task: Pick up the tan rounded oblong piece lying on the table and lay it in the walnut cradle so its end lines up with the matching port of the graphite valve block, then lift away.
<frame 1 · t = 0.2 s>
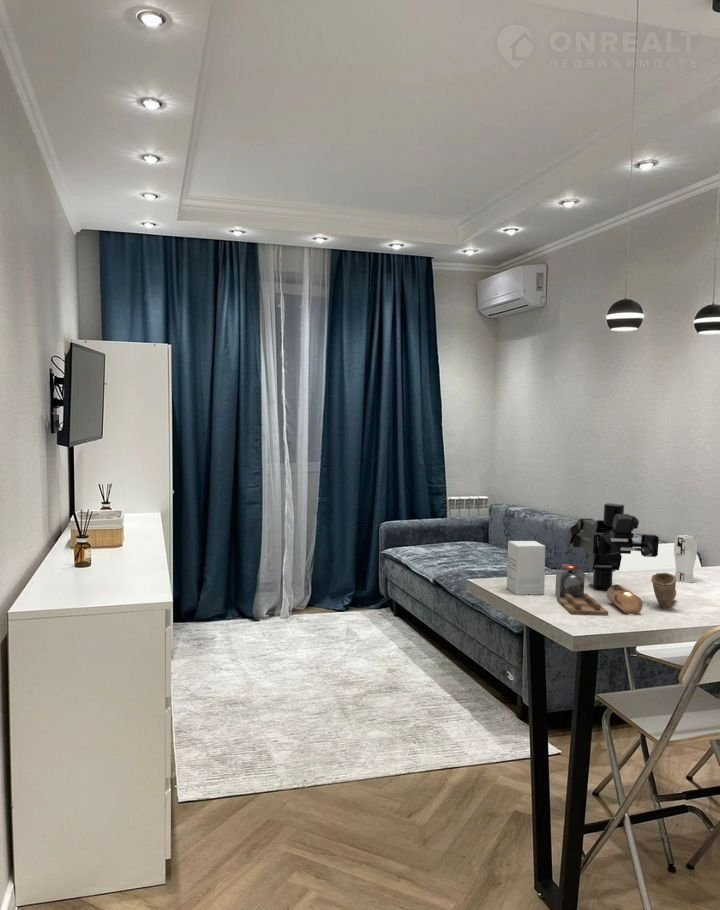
hand: (635, 551, 193), 17 cm above the table, tool horizontal, fingers open, 9 cm apart
supplement box: (524, 592, 213), on the table
beer glass: (683, 581, 233), on the table
pipe cradle: (581, 607, 195), on the table
tan rounded oblong piece: (623, 609, 195), on the table
valve block: (569, 596, 207), on the table
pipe: (666, 606, 200), on the table
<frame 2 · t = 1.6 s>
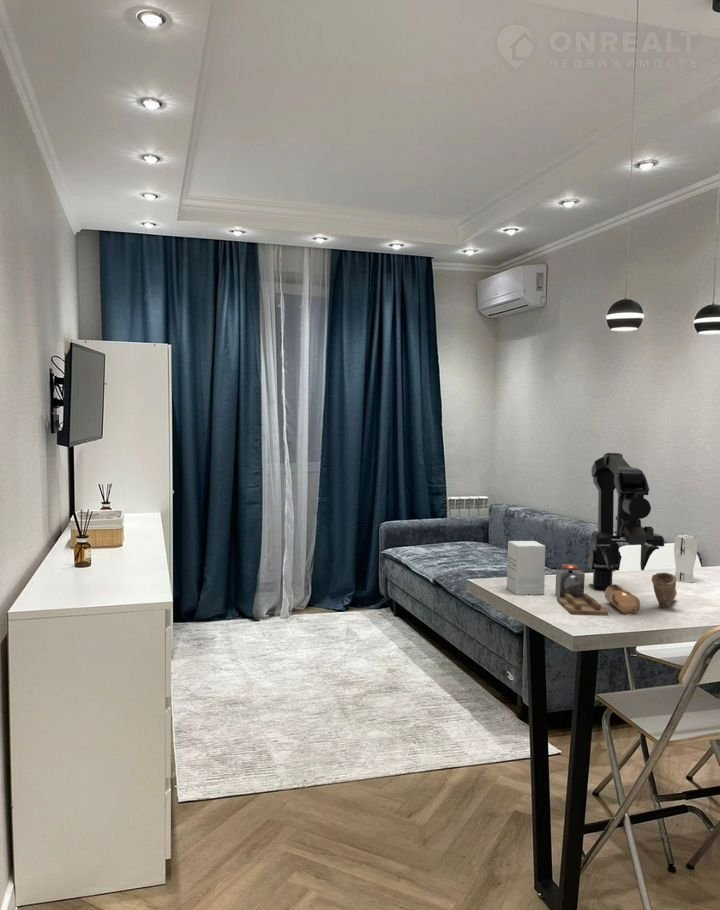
hand: (625, 569, 195), 11 cm above the table, tool pointing down, fingers open, 9 cm apart
tan rounded oblong piece: (623, 608, 195), on the table, tilted 14°
everything else where it was.
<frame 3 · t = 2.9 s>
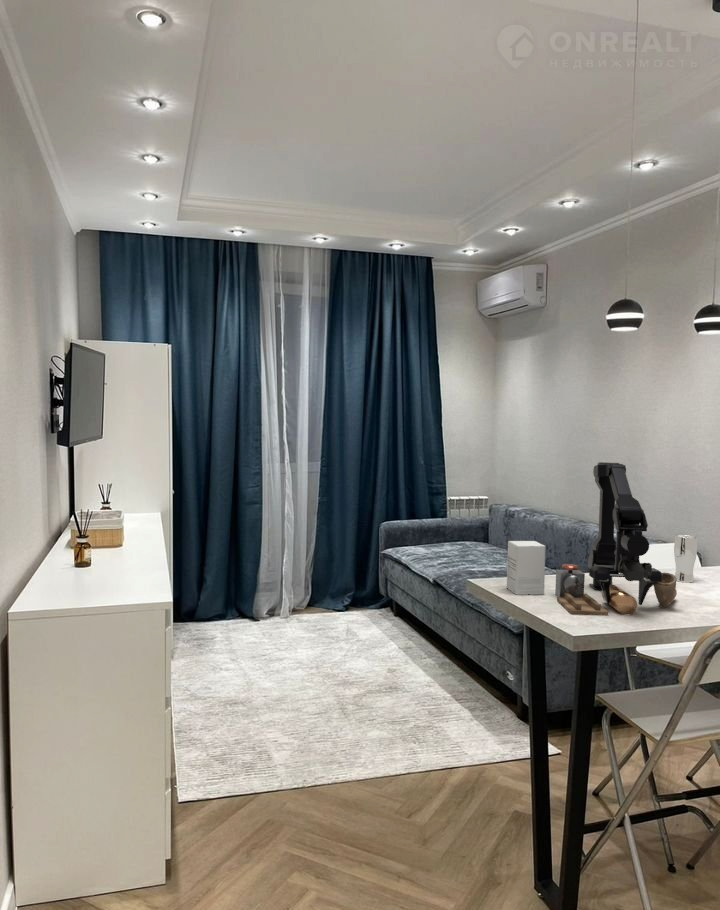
hand: (624, 604, 195), 1 cm above the table, tool pointing down, fingers open, 9 cm apart
tan rounded oblong piece: (623, 607, 195), on the table, tilted 32°, touching gripper
everything else where it was.
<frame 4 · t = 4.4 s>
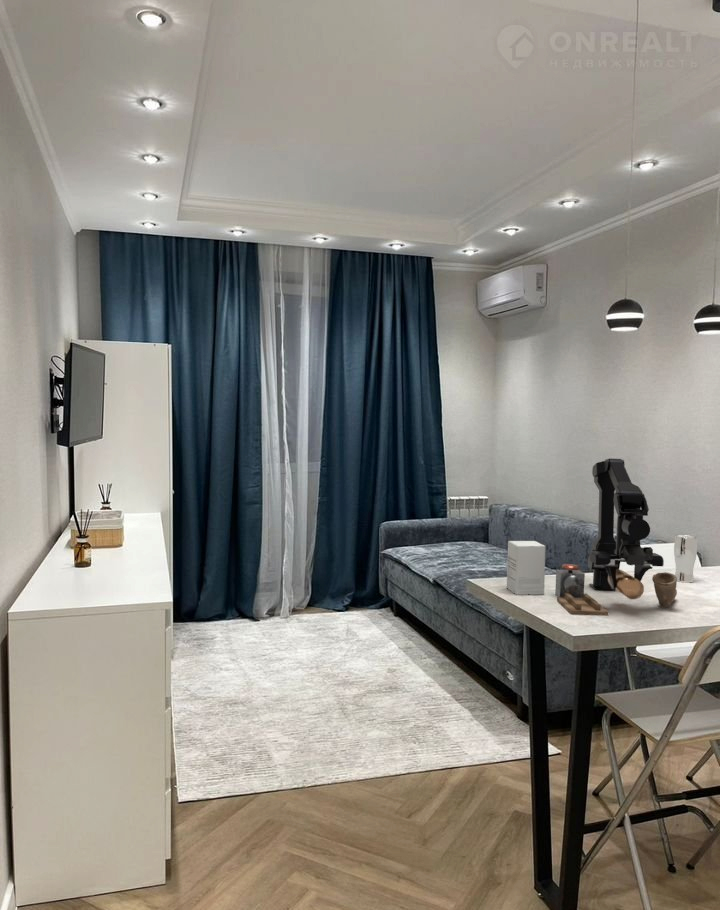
hand: (624, 589, 195), 6 cm above the table, tool pointing down, fingers closed on tan rounded oblong piece, 6 cm apart
tan rounded oblong piece: (624, 593, 195), point 4 cm above the table, touching gripper
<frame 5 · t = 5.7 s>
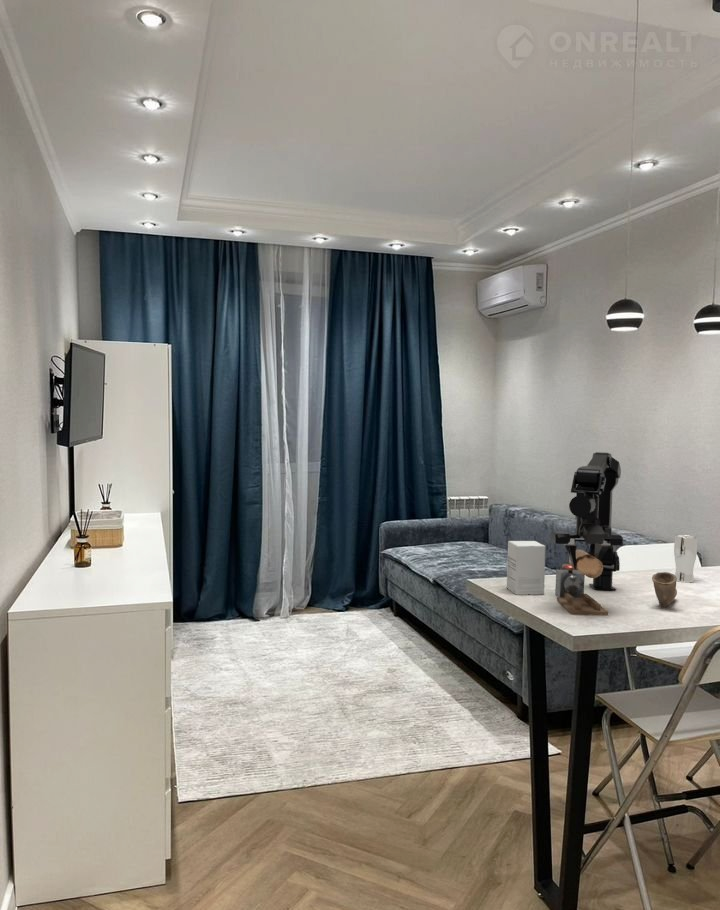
hand: (585, 568, 194), 11 cm above the table, tool pointing down, fingers closed on tan rounded oblong piece, 6 cm apart
tan rounded oblong piece: (584, 573, 194), point 10 cm above the table, touching gripper
when the fingers open (4 cm above the table, at t = 7.8 s): tan rounded oblong piece drops 1 cm, resting on pipe cradle.
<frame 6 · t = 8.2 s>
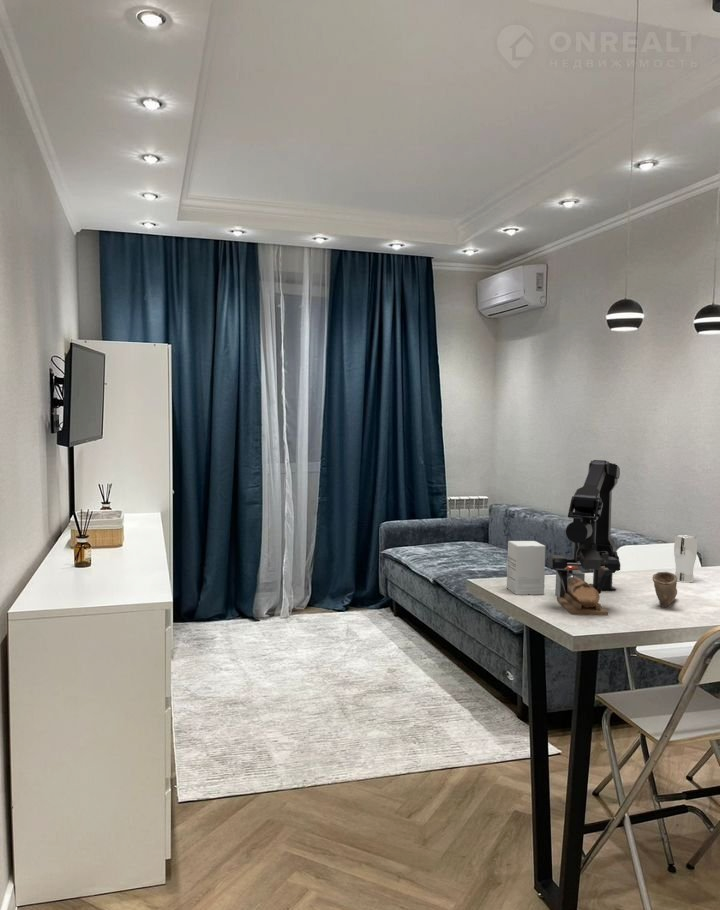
hand: (582, 593, 195), 4 cm above the table, tool pointing down, fingers open, 9 cm apart
tan rounded oblong piece: (582, 601, 195), point 2 cm above the table, touching pipe cradle
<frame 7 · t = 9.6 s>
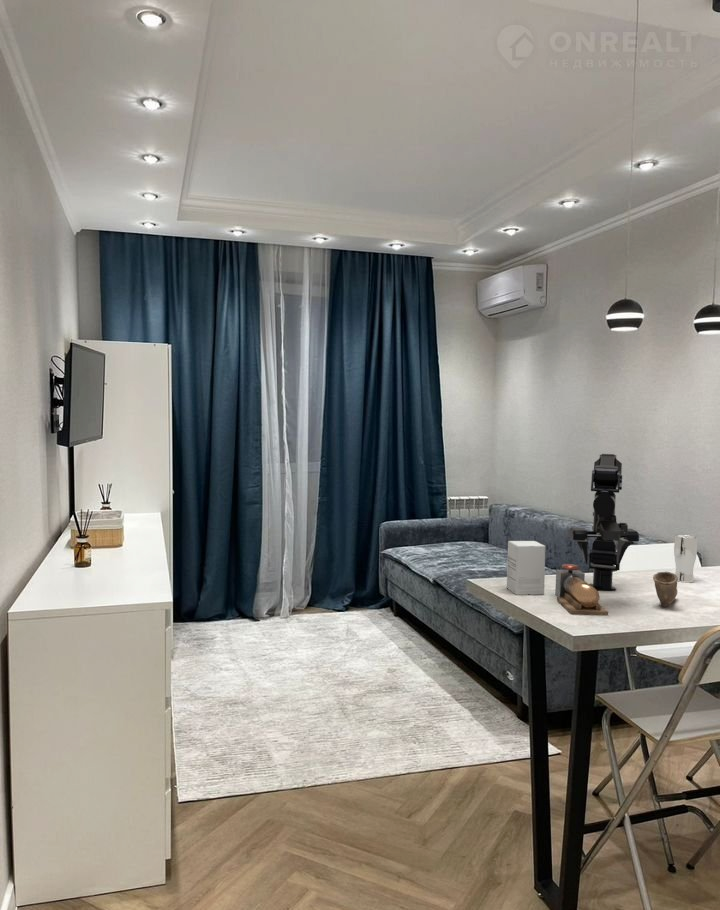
hand: (602, 563, 201), 11 cm above the table, tool pointing down, fingers open, 9 cm apart
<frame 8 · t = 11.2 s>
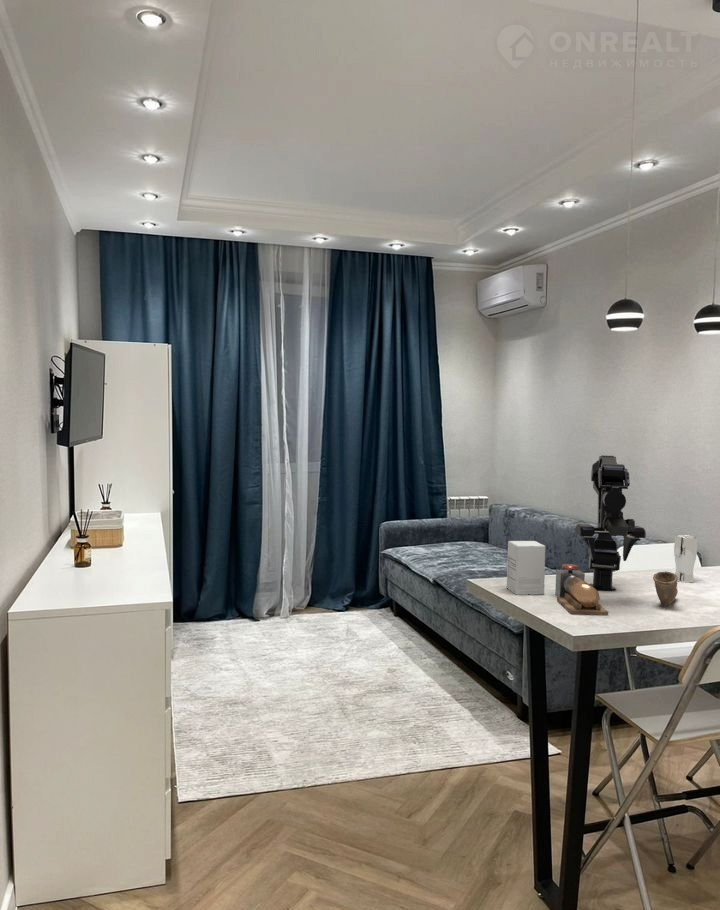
hand: (608, 560, 203), 12 cm above the table, tool pointing down, fingers open, 9 cm apart
at the end: tan rounded oblong piece 0.0 cm off-centre on the pipe cradle, point 1.8 cm above the pipe cradle's base; the gripper is holding nothing; tan rounded oblong piece moved 12.1 cm from its start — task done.
